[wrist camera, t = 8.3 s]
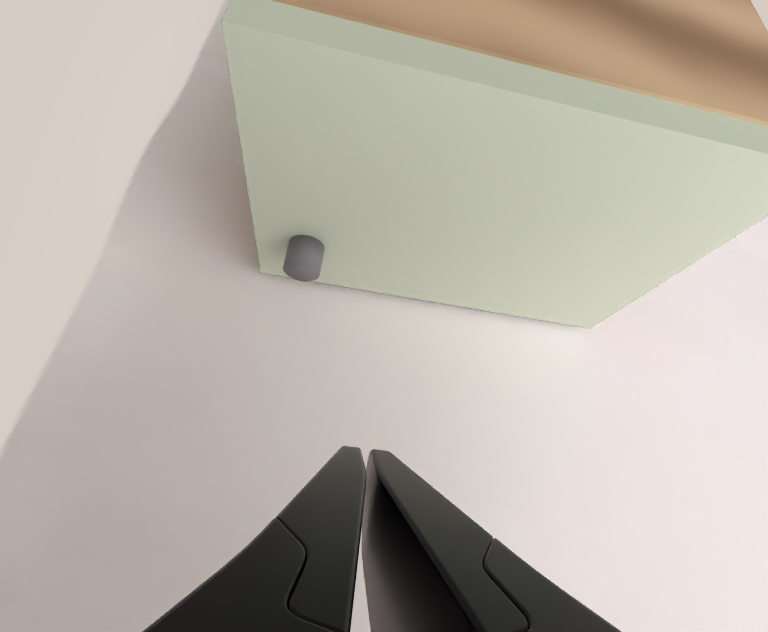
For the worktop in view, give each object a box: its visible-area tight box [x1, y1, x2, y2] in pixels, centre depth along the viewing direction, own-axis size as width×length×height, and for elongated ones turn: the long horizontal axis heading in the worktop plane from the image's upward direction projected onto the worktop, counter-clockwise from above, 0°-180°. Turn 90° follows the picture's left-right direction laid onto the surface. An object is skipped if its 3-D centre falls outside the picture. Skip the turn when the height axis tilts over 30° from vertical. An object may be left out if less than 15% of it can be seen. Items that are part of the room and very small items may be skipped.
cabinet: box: [272, 0, 768, 126], centre depth 17 cm, size 8×16×11 cm, turn 84°
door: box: [221, 0, 768, 329], centre depth 15 cm, size 2×16×11 cm, turn 84°
